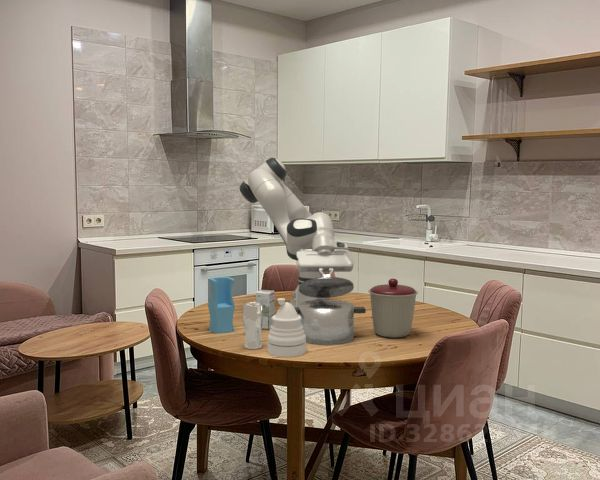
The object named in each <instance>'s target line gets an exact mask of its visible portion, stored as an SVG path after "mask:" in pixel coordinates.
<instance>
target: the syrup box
mask: <svg viewBox="0 0 600 480" xmlns="http://www.w3.org/2000/svg"><path fill="white" fill-rule="evenodd" d="M255 302H260V303H262V304H263V325H262V330H268V331H270V329H271V325H272V323H273V320H272V316H274V315H275V290H268V289H260V290H258V291H256V292H255Z"/></svg>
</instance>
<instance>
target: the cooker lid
mask: <svg viewBox="0 0 600 480" xmlns="http://www.w3.org/2000/svg"><path fill="white" fill-rule="evenodd" d="M354 288H355V287H354V283H353V281H351V280H349V279H347V278H343V277H337V276H331V277H321V278H314V279H310V280H307V281H305V282H303V283H301V284H300V285H299V292H300V293H301V294H303V295H305V296H309V297H315V298H329V299H331V298H337V297H342V296H344V295H347V294H349V293H351V292H352V291H354Z"/></svg>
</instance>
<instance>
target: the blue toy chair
mask: <svg viewBox="0 0 600 480" xmlns="http://www.w3.org/2000/svg"><path fill="white" fill-rule="evenodd" d="M208 280H209V284H210V297H209V300H208V303H207V308H208V311H209V326H208V330H209V331H210V332H212V333H213V334H226V333H233V332H234V330H235V329H234V323H233V319H234V313H235V310H236V305H235V302H234V299H233V286H234V283H235V278H232V277H229V276H216V277H215V276H214V277H213V276H212V277H209V278H208Z"/></svg>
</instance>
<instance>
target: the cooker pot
mask: <svg viewBox="0 0 600 480" xmlns="http://www.w3.org/2000/svg"><path fill="white" fill-rule="evenodd" d="M354 304H355V303H353V302H350V301H346V300H341V299H340V300H339V299H331V298H324V299H316V300H310V301H305V302H302V303H300V304H299V307H294V308H295V310H296V312H297V314H298V315H299V316H301V320H300V322H301V325H302V326H303V330H304V334H305V335H306V344H307V343H308V344H313V345H320V346H321V345H324V346H335V345H342V344H343V345H344V344H347V343H350V342H352V341H353V340H354V337H355V314H366V308H365V307H364V306H355V305H354Z"/></svg>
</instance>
